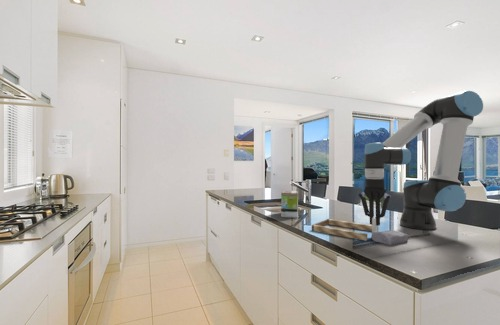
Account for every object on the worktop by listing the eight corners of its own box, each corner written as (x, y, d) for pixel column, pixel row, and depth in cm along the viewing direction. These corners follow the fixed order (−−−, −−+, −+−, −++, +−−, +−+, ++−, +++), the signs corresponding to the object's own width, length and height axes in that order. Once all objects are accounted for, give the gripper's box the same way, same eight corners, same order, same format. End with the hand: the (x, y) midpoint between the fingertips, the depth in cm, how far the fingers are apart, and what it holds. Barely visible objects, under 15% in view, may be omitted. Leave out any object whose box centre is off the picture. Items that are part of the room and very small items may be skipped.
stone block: (369, 244, 104) (391, 246, 95) (367, 232, 105) (389, 233, 96) (388, 241, 109) (411, 242, 100) (386, 230, 110) (408, 230, 101)
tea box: (297, 218, 146) (297, 192, 146) (280, 217, 148) (280, 192, 148) (298, 213, 161) (298, 190, 161) (282, 212, 163) (282, 190, 163)
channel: (378, 231, 115) (378, 226, 115) (366, 240, 102) (366, 234, 102) (328, 223, 132) (327, 218, 132) (311, 230, 118) (311, 225, 118)
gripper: (356, 178, 110) (356, 231, 110) (388, 179, 101) (389, 237, 101) (361, 177, 115) (362, 228, 115) (393, 178, 107) (393, 233, 107)
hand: (374, 232), depth 108 cm, fingers closed
